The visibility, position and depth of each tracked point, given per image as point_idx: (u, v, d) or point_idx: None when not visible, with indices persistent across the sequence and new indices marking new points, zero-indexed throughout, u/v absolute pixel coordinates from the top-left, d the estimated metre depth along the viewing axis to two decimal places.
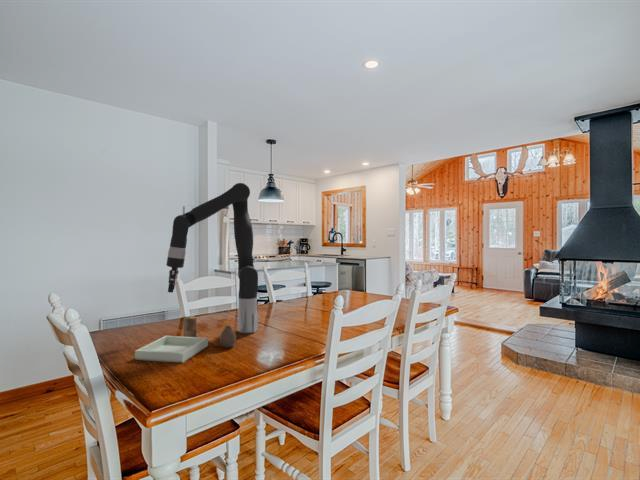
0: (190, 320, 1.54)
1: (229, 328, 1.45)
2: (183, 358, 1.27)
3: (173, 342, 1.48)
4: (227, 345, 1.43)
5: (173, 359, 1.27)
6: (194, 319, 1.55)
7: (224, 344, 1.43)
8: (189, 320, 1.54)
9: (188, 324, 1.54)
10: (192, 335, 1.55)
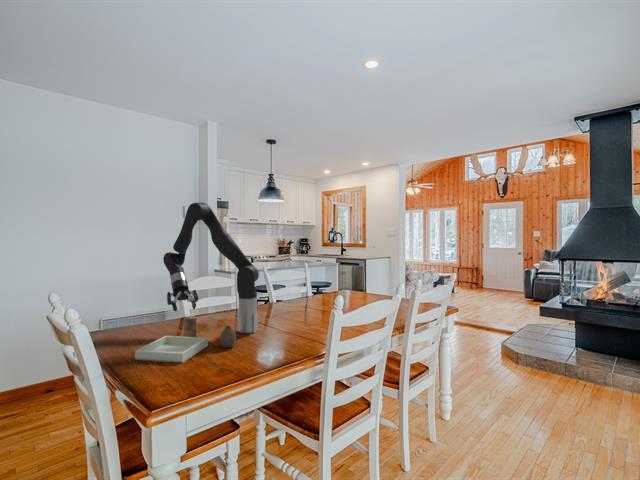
0: (190, 320, 1.54)
1: (229, 328, 1.45)
2: (183, 358, 1.27)
3: (173, 342, 1.48)
4: (227, 345, 1.43)
5: (173, 359, 1.27)
6: (194, 319, 1.55)
7: (224, 344, 1.43)
8: (189, 320, 1.54)
9: (188, 324, 1.54)
10: (192, 335, 1.55)
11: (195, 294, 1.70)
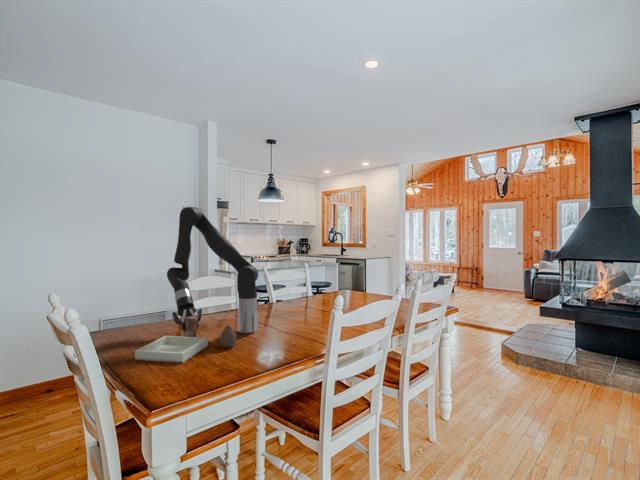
0: (190, 320, 1.54)
1: (229, 328, 1.45)
2: (183, 358, 1.27)
3: (173, 342, 1.48)
4: (227, 345, 1.43)
5: (173, 359, 1.27)
6: (194, 319, 1.55)
7: (224, 344, 1.43)
8: (189, 320, 1.54)
9: (188, 324, 1.54)
10: (192, 335, 1.55)
11: (199, 313, 1.61)
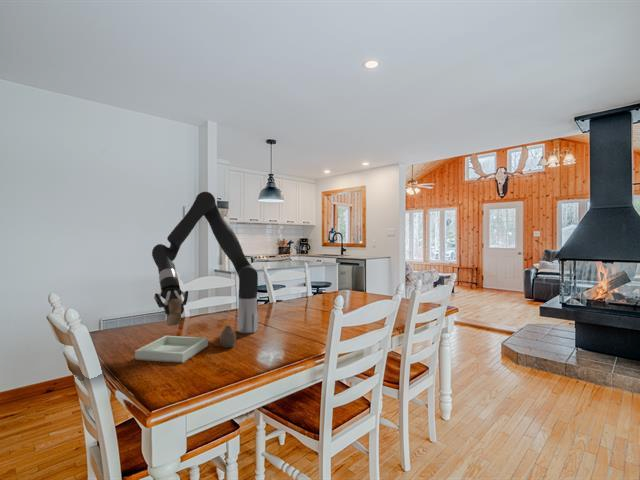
0: (174, 302, 1.37)
1: (229, 328, 1.45)
2: (183, 358, 1.27)
3: (173, 342, 1.48)
4: (227, 345, 1.43)
5: (173, 359, 1.27)
6: (179, 301, 1.39)
7: (224, 344, 1.43)
8: (173, 302, 1.37)
9: (172, 307, 1.37)
10: (176, 319, 1.38)
11: (185, 296, 1.45)
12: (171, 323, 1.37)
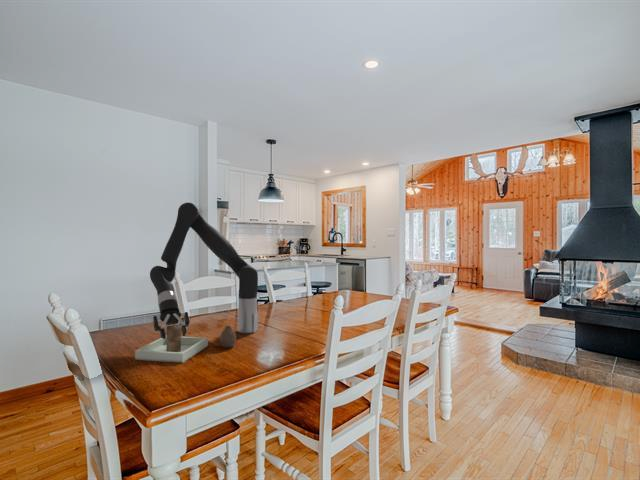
0: (174, 330, 1.36)
1: (229, 328, 1.45)
2: (183, 358, 1.27)
3: None
4: (227, 345, 1.43)
5: (173, 359, 1.27)
6: (178, 328, 1.37)
7: (224, 344, 1.43)
8: (172, 330, 1.36)
9: (171, 334, 1.35)
10: (176, 347, 1.37)
11: (186, 317, 1.44)
12: (171, 351, 1.35)
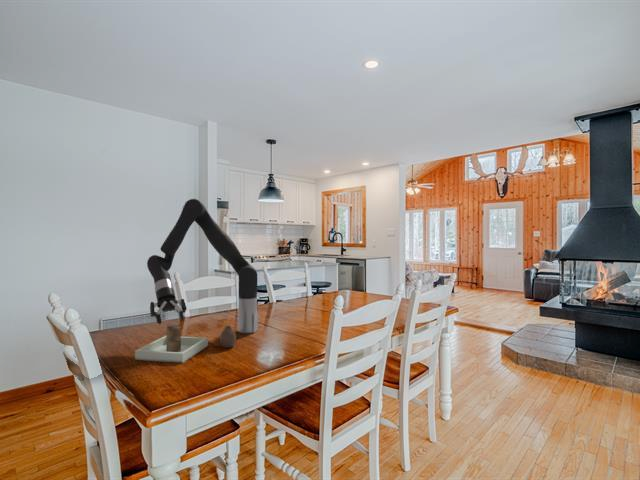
0: (174, 330, 1.36)
1: (229, 328, 1.45)
2: (183, 358, 1.27)
3: None
4: (227, 345, 1.43)
5: (173, 359, 1.27)
6: (178, 328, 1.37)
7: (224, 344, 1.43)
8: (172, 330, 1.36)
9: (171, 334, 1.35)
10: (176, 347, 1.37)
11: (183, 304, 1.49)
12: (171, 351, 1.35)
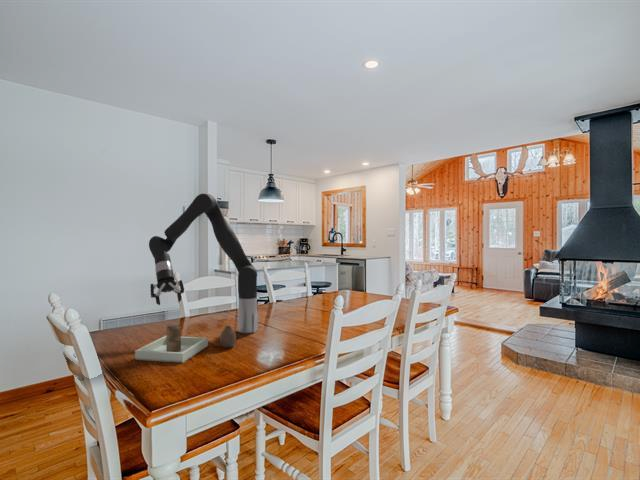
0: (174, 330, 1.36)
1: (229, 328, 1.45)
2: (183, 358, 1.27)
3: None
4: (227, 345, 1.43)
5: (173, 359, 1.27)
6: (178, 328, 1.37)
7: (224, 344, 1.43)
8: (172, 330, 1.36)
9: (171, 334, 1.35)
10: (176, 347, 1.37)
11: (181, 285, 1.59)
12: (171, 351, 1.35)
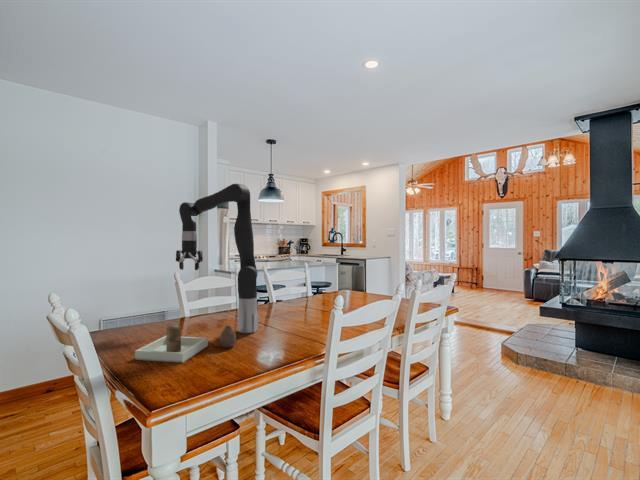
0: (174, 330, 1.36)
1: (229, 328, 1.45)
2: (183, 358, 1.27)
3: None
4: (227, 345, 1.43)
5: (173, 359, 1.27)
6: (178, 328, 1.37)
7: (224, 344, 1.43)
8: (172, 330, 1.36)
9: (171, 334, 1.35)
10: (176, 347, 1.37)
11: (198, 256, 1.77)
12: (171, 351, 1.35)
